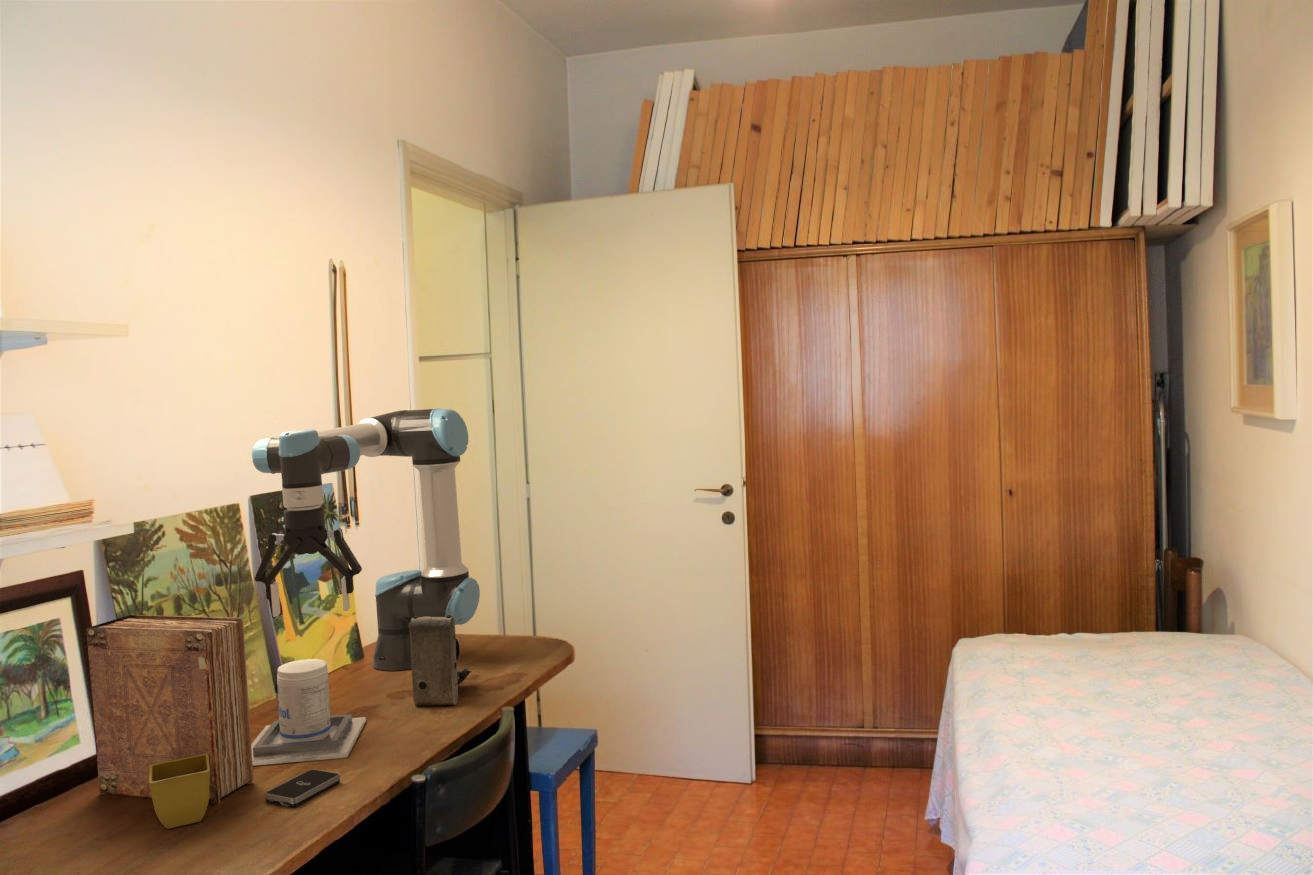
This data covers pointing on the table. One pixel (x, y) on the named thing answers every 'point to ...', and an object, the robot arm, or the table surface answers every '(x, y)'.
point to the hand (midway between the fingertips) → (311, 612)
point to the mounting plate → (307, 743)
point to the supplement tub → (303, 701)
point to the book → (169, 700)
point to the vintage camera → (435, 661)
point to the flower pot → (180, 790)
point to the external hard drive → (302, 788)
